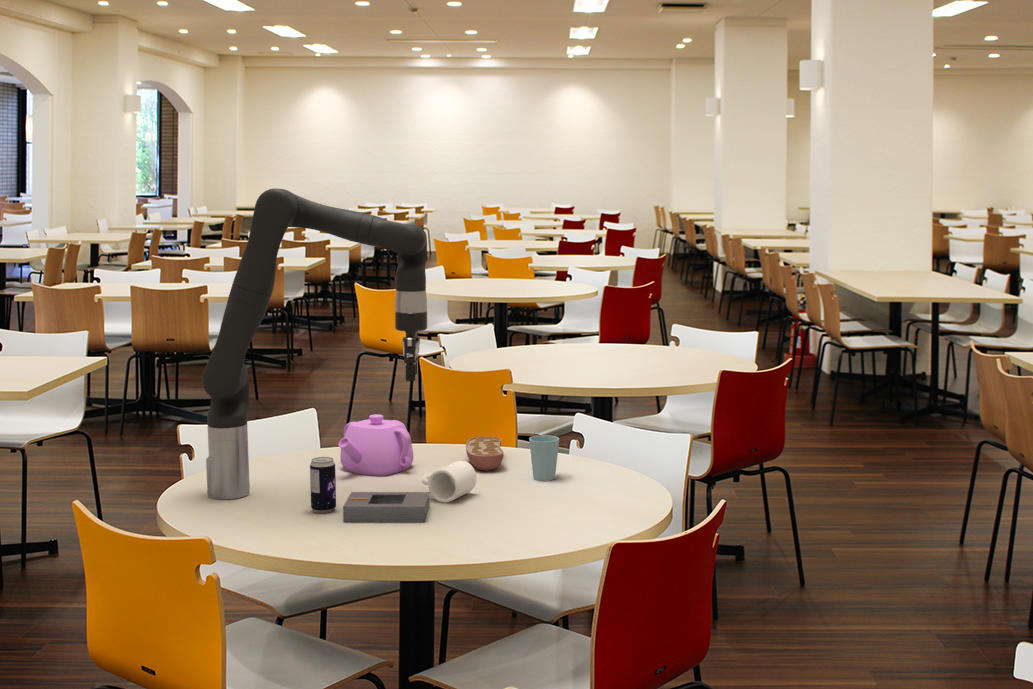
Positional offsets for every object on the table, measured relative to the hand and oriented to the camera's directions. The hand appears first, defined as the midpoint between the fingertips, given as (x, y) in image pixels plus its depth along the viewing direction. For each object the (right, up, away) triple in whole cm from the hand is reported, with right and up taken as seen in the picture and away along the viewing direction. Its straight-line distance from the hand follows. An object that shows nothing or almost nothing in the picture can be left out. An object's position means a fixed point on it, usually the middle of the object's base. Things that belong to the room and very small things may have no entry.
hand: (411, 377), depth 253 cm
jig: (-4, -30, -12) cm, 33 cm away
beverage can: (-19, -30, -9) cm, 37 cm away
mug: (+8, -29, +3) cm, 30 cm away
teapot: (-13, -25, +29) cm, 41 cm away
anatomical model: (+16, -25, +36) cm, 46 cm away
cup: (+32, -26, +20) cm, 46 cm away
